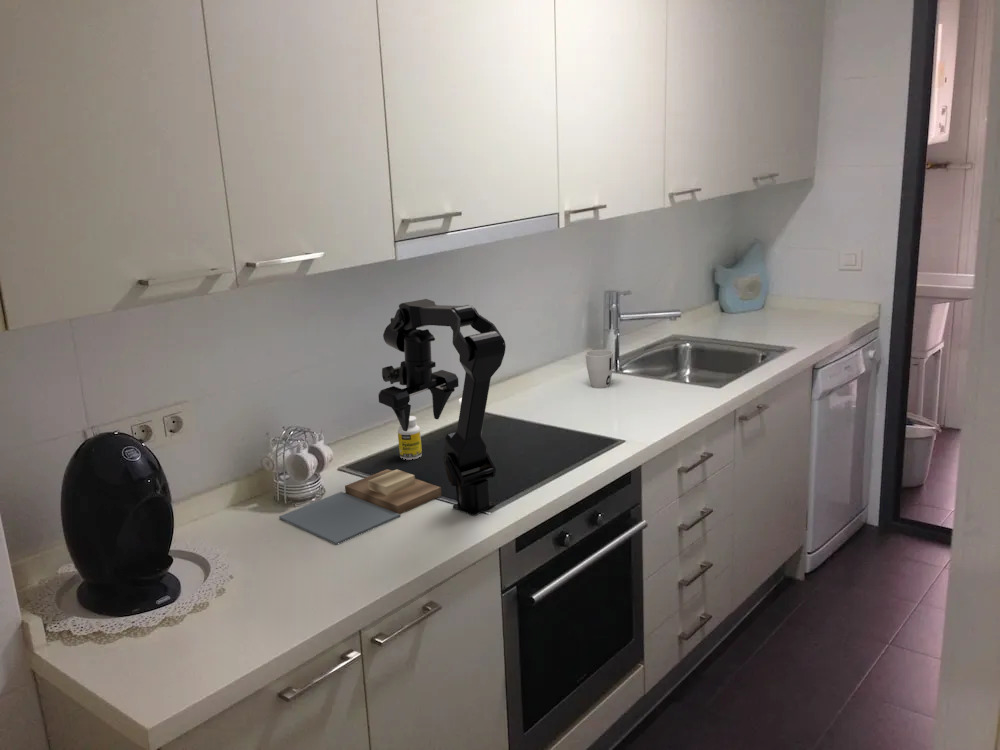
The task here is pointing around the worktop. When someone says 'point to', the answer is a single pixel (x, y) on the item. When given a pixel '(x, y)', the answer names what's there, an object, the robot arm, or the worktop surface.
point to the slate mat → (339, 517)
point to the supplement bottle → (410, 441)
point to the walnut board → (395, 494)
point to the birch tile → (391, 482)
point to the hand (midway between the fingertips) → (421, 424)
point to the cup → (599, 367)
